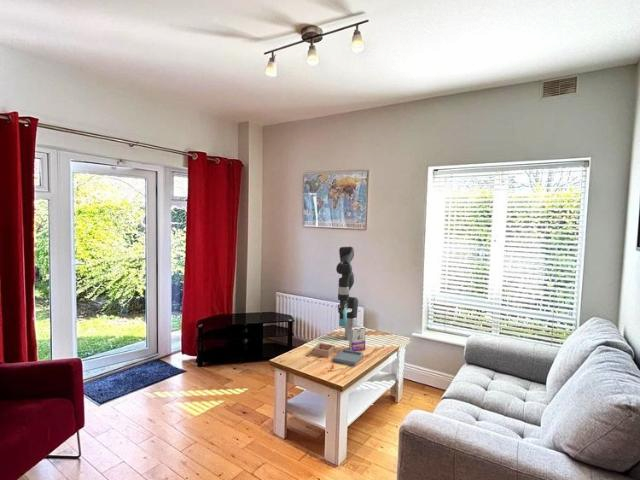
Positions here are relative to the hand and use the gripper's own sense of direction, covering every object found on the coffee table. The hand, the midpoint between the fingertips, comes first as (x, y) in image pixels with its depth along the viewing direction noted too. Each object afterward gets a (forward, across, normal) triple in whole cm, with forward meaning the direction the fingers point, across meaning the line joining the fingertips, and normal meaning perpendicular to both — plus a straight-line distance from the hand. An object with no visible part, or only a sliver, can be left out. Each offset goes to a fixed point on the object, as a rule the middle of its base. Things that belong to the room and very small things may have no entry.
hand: (342, 317), depth 232 cm
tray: (+28, 0, +5) cm, 28 cm away
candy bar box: (+28, -19, +4) cm, 34 cm away
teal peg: (+5, 0, 0) cm, 5 cm away
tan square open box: (+28, -2, -14) cm, 31 cm away
